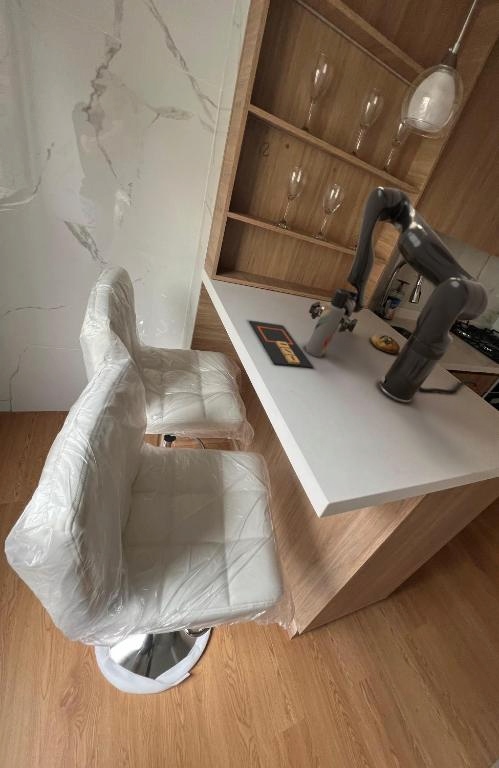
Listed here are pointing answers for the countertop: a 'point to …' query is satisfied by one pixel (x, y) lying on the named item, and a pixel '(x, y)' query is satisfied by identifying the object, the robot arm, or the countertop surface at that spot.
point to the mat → (280, 345)
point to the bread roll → (385, 343)
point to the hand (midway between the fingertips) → (327, 322)
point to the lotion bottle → (328, 323)
